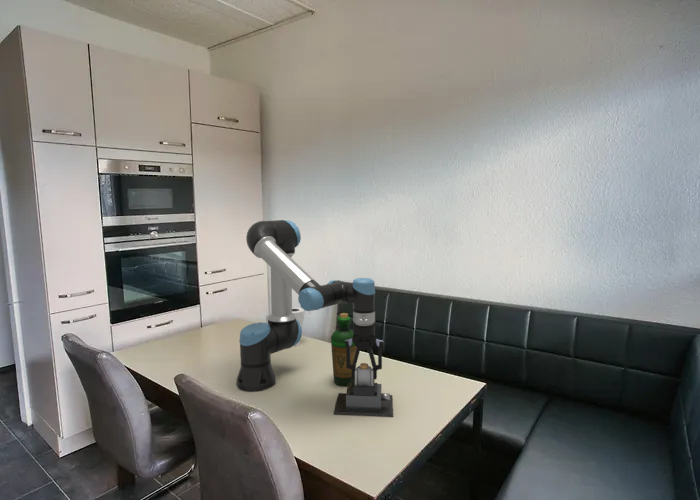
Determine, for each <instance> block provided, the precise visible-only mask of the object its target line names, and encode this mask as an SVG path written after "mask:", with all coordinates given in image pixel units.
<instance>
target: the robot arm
mask: <svg viewBox="0 0 700 500" xmlns="http://www.w3.org/2000/svg"><path fill="white" fill-rule="evenodd" d="M245 239H246V245H247V247H248V249H249V251H250V252H251V253H252V254H253V255H254V256H255V257H256V258H258V259H262V260H263V262H265V263H266V264H267V265H268V266H269V269H270V304H271V311H270V312H271V313H270V315H269V316H268V317H267V322H254V323H251V324H247V325H246V326H244V327H243V328H242V329H241V330H240V333H239V346H240V347H239V352H240V353H239V354H240V368H239V371H238V375H237V378H236V387H237V389H239V390H241V391H244V392H260V391H265V390H268V389H270V388H272V387H273V386H274V385H275V384H276V383H277V381H276V379H277V378H276V374H275V371H274V368H273V366H272V359H271V356H272V355H271V354H275V353H279V352H281V351H284V350H286V349H287V350H288V349H290V348H292V347H296V346H295V345H296V344H297V343H298V342H299V341H300V342H301V339H302V334H303V327H302V328H301V326H300V323H299V321H298V320H296V316H295V315H294V314H292V308H293V293H292V292H293V291H294V292H295V293H296V294H297V295H298V297H297V298H298V304H299V305H300V308H302V309H304V310H305V312H311V311H319V310H320V309H324V308H326V307H331V306H335V305H339V304H348V305H352V320H353V321H352V322H353V326H352V330H353V337H352V339H349V340H348V339H346V340H345V345H346V367H347V368H348V369H351V370H352V379H355V385H356V386H357V362H358V359H359V355H360V352H361V351H362V350H363V351H364V350H365V351H367V353H368V356H369V359H370V363H371V366H372V367H371V386H374V379H375V380H377V377H378V375H377V374H378V373H377V372H378V370H382V367H383V355H382V354H383V353H382V352H383V351H382V349H383V346H384V340H383V339H378V338H377V336H376V324H375V322H376V308H375V305H376V304H375V303H376V302H375V300H376V288H375V287H376V286H375V284H376V283H375V280H374V279H372V278H369V277H357V278H355V279H353V280H352V282H349V281H342V280H340V279H339V280H338V279H337V280H333V279H332V280H330V281H329V282H328V283H326V284H323V285H321V284H320V283H318V282H317V281H316V280H315V279H314V278H313V277H312V276H311V275H310V274H309V273H308V272H307V271H305V270H304V269H303V268H302V266H300V265H299V264H298V263H297V262H296V261H295V260H294V259H293V258H292V256H293V255H295V254H296V248H297V247H298V246H299V245H300V244H301V239H302V237H301V231H300V229H299V226H297V225H296V223H295V222H294V221H291V220H285V219H282V220H281V219H279V220H278V219H276V220H260V221H257V222H255V223H253V224H251V226H250V227H249V228H248V230H247V233H246V238H245ZM352 342H353V343H354V344H355V346H356V347H357V349H356V353H355V357H354V361H353V365H352V364H350V356H351V345H352ZM375 344H376V346H377V351H378V352H377V355H378V356H377V362H378V363H377V362H376V358H375V354H374V351H373V346H374V345H375ZM355 367H356V368H355Z"/></svg>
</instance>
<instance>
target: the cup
mask: <svg viewBox="0 0 700 500" xmlns="http://www.w3.org/2000/svg"><path fill="white" fill-rule="evenodd" d="M305 312H306V310H304V309H302V308H301V307H292V314H294V315H295V316H296V320H298V321H299V323H300V326H301V328H302V329H303V325H304V318H305ZM300 345H301V340H300V341H299V342H298V343H297V344H296V345H295V346H294V347H297V346H298V347H299V346H300Z"/></svg>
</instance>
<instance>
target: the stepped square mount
mask: <svg viewBox="0 0 700 500" xmlns="http://www.w3.org/2000/svg"><path fill="white" fill-rule="evenodd" d="M375 380H376V379H374V386H356V385H355V382H352V383H348V386H347V390H346V393H345V392H343V393H342V392H339V393H337V397H336V401H335V405H334V409H333V415H334V416H357V417H358V416H361V417H386V418H393V417H394V407H393V406H394V405H393V404H394V403H393V400H394V399H393V394H391V393H385V392H383V393H382V383H378V382H376V381H375Z"/></svg>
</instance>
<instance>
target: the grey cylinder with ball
mask: <svg viewBox="0 0 700 500" xmlns="http://www.w3.org/2000/svg"><path fill="white" fill-rule="evenodd" d="M356 368H357V386H371V368H372V367H371V366H370V365H369V363H366V362H361V363H360V364H359V365H358V366H356Z"/></svg>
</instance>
